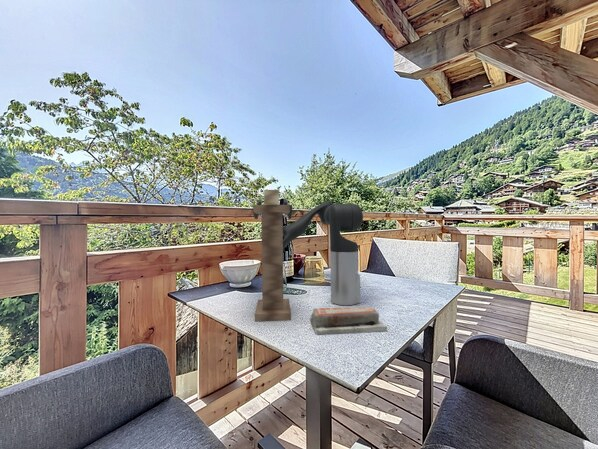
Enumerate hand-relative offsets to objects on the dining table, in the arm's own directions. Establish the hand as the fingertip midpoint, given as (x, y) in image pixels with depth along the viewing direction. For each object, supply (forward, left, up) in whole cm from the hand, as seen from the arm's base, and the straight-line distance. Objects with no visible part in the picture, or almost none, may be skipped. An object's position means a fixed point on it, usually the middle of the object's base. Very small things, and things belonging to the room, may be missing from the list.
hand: (272, 200), depth 91 cm
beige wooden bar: (0, +8, -3) cm, 8 cm away
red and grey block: (-19, +24, -36) cm, 47 cm away
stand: (0, +12, -35) cm, 37 cm away
